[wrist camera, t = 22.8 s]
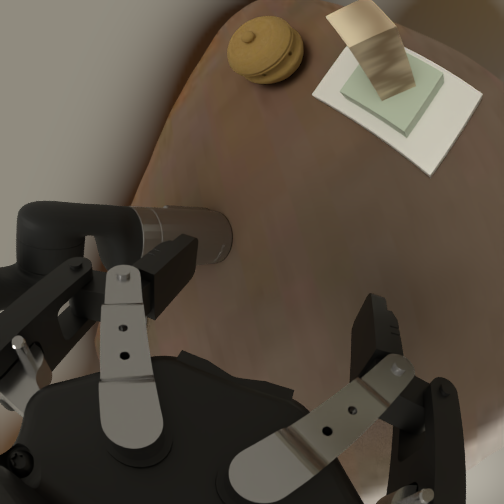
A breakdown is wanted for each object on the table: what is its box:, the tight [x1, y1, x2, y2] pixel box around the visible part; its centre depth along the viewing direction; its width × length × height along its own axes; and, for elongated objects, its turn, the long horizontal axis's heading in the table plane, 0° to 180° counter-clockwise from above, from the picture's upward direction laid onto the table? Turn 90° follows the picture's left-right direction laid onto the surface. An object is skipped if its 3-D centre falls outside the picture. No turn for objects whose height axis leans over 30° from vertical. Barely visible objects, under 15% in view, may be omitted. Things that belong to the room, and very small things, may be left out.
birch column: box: [326, 0, 416, 101], centre depth 22 cm, size 5×5×12 cm
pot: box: [227, 16, 304, 84], centre depth 36 cm, size 12×12×10 cm
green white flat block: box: [312, 46, 482, 178], centre depth 29 cm, size 20×14×4 cm
